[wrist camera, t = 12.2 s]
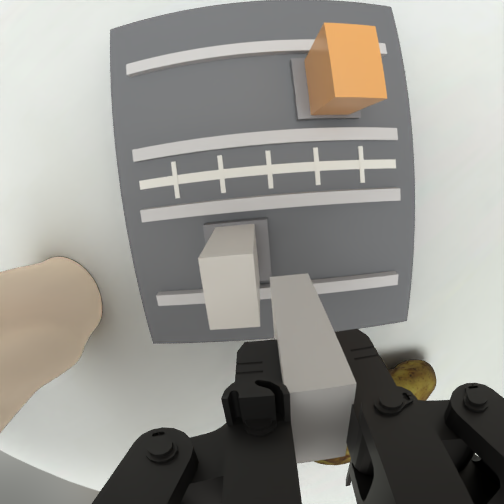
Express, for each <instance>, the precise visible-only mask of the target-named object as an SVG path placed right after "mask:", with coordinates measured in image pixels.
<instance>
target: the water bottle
mask: <svg viewBox="0 0 504 504" xmlns="http://www.w3.org/2000/svg"><path fill="white" fill-rule="evenodd" d="M101 317H102V302H101V296H100V293H99V290H98V287H97V285H96V283H95V281H94V280H93V278H92V277H91V275H90V274H89V273H88V272H87V271H86V270H85V269H84V268H83V267H82V266H81V265H80V264H78V263H77V262H75V261H73V260H71V259H69V258H65V257H52V258H49V259H47V260H45V261H43V262H41V263H38V264H33V265H28V266H23V267H18V268H14V269H10V270H6V271H2V272H0V433H1V432H2V430H3V429H4V428H5V427H6V426H7V424H8V423H9V422H10V421H11V420H12V418H13V417H14V416H15V415H16V414H17V413H18V411H19V410H20V409H21V408H22V407H23V406H24V405H25V403H26V402H27V401H28V400H29V399H30V398H31V397H32V395H33V394H34V393H35V392H36V391H37V390H38V389H40V388H41V387H42V386H44V385H46V384H47V383H49V382H50V381H52V380H54V379H55V378H57V377H58V376H60V375H62V374H63V373H64V372H66V371H67V370H69V369H70V368H71V367H73V366H74V365H75V364H76V363H77V362H78V360H79V359H80V357H81V355H82V353H83V350H84V347H85V344H86V342H87V340H88V339H89V337H90V335H91V334H92V332H93V331H94V330H95V328H96V327H97V326H98V324H99V322H100V320H101Z"/></svg>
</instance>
